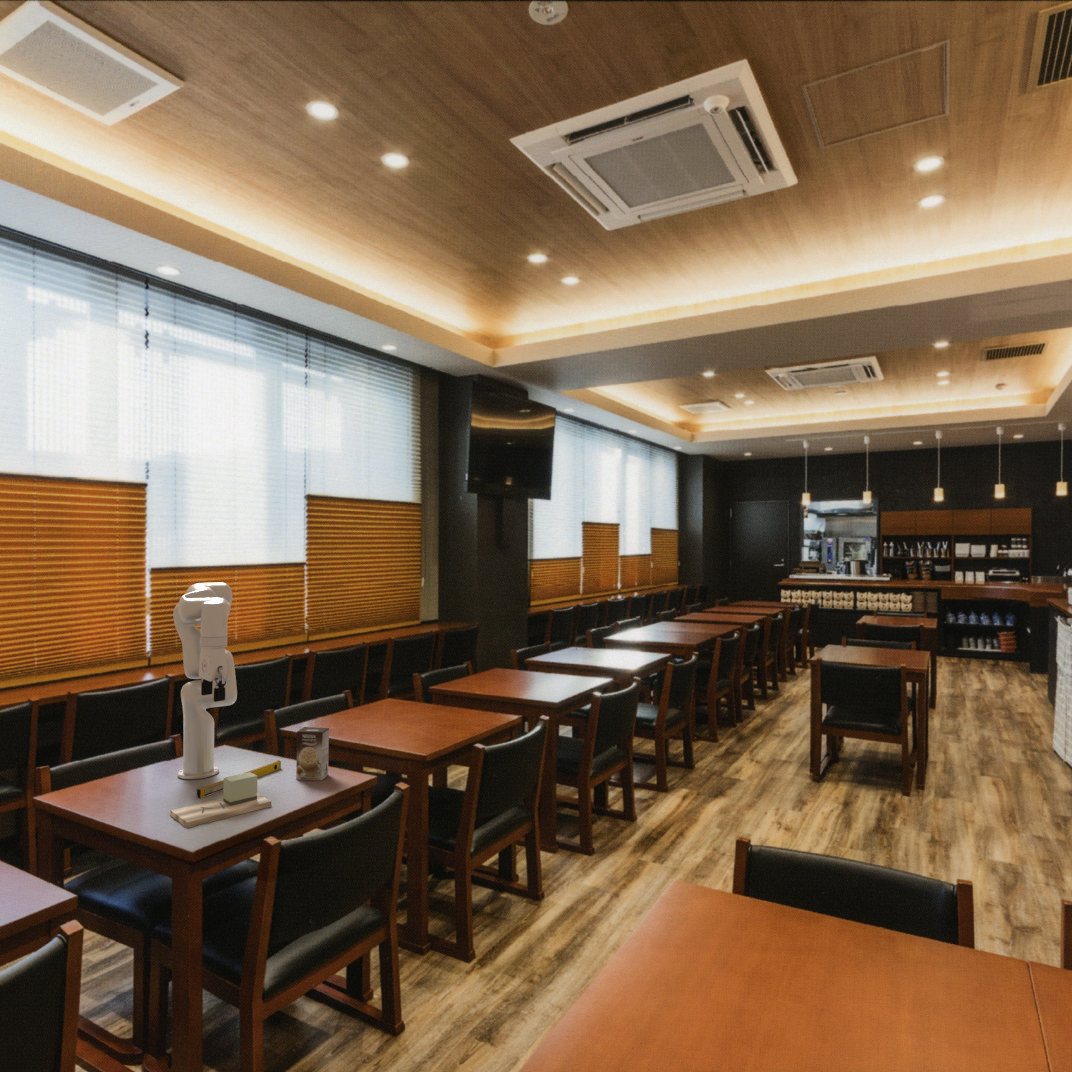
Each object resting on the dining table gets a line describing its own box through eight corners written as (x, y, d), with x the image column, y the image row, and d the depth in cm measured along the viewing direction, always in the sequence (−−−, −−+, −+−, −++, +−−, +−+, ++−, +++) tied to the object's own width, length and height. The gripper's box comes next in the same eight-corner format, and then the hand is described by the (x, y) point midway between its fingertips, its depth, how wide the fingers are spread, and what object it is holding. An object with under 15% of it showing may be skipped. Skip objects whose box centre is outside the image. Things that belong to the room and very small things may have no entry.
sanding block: (223, 801, 218) (223, 777, 218) (249, 795, 223) (250, 772, 224) (230, 805, 214) (230, 781, 214) (256, 799, 220) (257, 775, 220)
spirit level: (277, 769, 256) (277, 760, 256) (280, 769, 255) (280, 760, 255) (196, 798, 226) (196, 789, 226) (199, 799, 225) (200, 789, 225)
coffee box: (295, 779, 243) (295, 731, 243) (303, 774, 249) (303, 726, 250) (321, 780, 242) (322, 732, 242) (329, 774, 249) (329, 727, 249)
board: (170, 815, 211) (170, 809, 211) (252, 795, 228) (252, 790, 228) (186, 827, 201) (186, 822, 201) (271, 806, 218) (271, 801, 218)
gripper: (190, 639, 227) (189, 694, 227) (212, 647, 215) (211, 705, 215) (215, 636, 232) (214, 690, 233) (238, 644, 220) (237, 701, 220)
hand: (213, 697), depth 224 cm, fingers open, 9 cm apart
